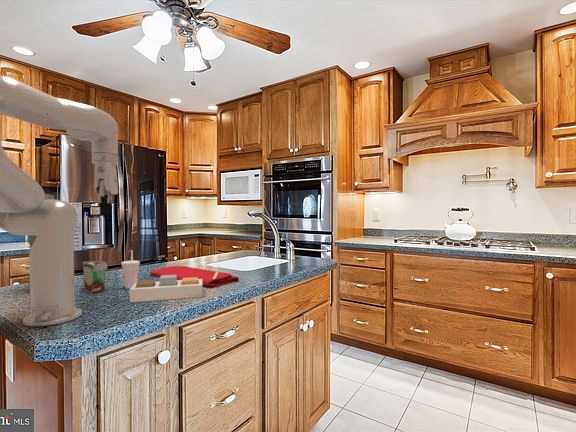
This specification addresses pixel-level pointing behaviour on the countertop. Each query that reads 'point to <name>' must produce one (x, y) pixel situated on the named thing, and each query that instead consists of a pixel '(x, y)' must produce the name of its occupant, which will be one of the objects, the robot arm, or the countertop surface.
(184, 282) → the orange key
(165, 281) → the grey key
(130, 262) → the smoothie
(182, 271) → the red folded towel
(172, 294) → the keypad
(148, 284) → the walnut key
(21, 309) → the countertop surface
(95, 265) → the food container
